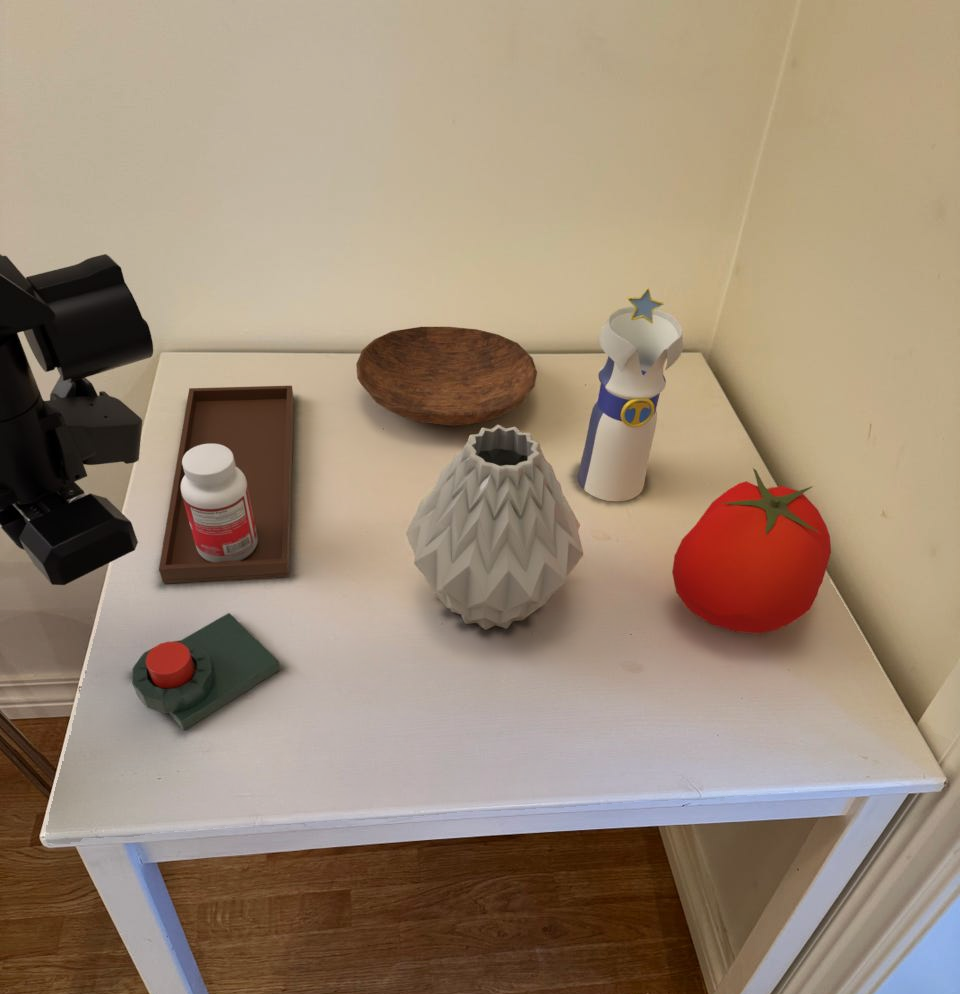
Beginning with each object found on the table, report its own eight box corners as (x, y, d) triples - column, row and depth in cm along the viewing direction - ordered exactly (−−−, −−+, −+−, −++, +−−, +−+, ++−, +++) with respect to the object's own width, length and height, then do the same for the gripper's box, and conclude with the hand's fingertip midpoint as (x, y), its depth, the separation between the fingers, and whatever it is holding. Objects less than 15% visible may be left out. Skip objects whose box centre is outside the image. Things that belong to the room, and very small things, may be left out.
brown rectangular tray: (289, 576, 86) (287, 562, 84) (163, 583, 84) (158, 569, 83) (293, 399, 106) (291, 385, 105) (192, 402, 105) (189, 388, 103)
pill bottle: (213, 520, 90) (192, 433, 82) (268, 532, 89) (252, 445, 81) (185, 559, 86) (160, 471, 78) (243, 572, 85) (224, 485, 77)
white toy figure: (658, 501, 97) (715, 289, 78) (585, 505, 95) (625, 292, 77) (638, 456, 102) (687, 248, 83) (569, 460, 101) (602, 250, 82)
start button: (165, 696, 72) (160, 681, 71) (143, 671, 74) (137, 656, 72) (202, 673, 74) (198, 658, 72) (180, 650, 76) (175, 634, 74)
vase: (387, 563, 88) (381, 409, 74) (533, 530, 92) (552, 379, 78) (439, 681, 78) (443, 529, 64) (600, 638, 82) (635, 487, 69)
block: (170, 739, 72) (162, 718, 70) (122, 683, 76) (113, 662, 74) (281, 669, 78) (276, 648, 76) (231, 620, 81) (225, 599, 79)
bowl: (536, 453, 101) (540, 418, 98) (350, 445, 101) (347, 409, 97) (530, 363, 115) (534, 329, 111) (365, 355, 114) (363, 320, 110)
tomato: (756, 548, 92) (798, 444, 82) (835, 640, 84) (892, 536, 74) (628, 580, 88) (656, 474, 78) (697, 681, 79) (738, 576, 69)
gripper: (181, 417, 55) (223, 586, 67) (44, 304, 63) (103, 472, 75) (10, 490, 49) (88, 661, 61) (-115, 356, 58) (-25, 528, 69)
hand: (67, 571), depth 67 cm, fingers closed
